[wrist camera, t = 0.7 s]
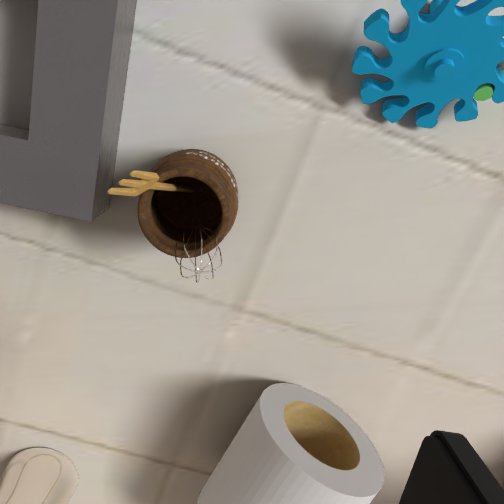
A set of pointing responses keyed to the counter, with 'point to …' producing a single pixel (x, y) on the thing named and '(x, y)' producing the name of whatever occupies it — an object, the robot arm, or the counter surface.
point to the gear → (435, 60)
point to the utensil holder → (185, 204)
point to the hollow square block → (70, 110)
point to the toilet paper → (296, 455)
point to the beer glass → (38, 478)
